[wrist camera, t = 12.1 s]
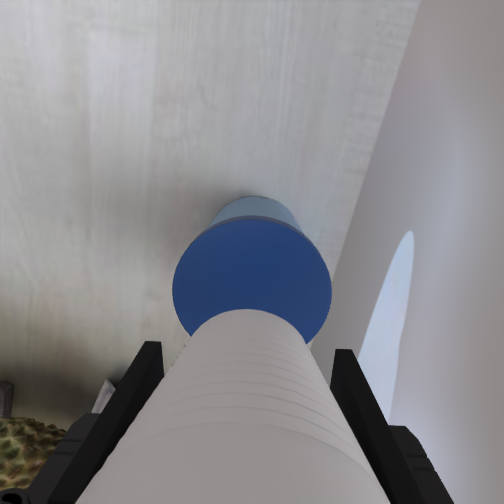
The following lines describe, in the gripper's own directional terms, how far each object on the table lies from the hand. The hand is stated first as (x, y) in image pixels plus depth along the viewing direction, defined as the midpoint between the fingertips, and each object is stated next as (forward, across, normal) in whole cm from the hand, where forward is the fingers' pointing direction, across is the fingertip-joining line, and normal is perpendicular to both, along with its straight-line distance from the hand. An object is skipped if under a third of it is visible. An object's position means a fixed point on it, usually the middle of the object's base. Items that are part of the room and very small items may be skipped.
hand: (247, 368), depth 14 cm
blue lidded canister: (+21, 0, 0) cm, 21 cm away
